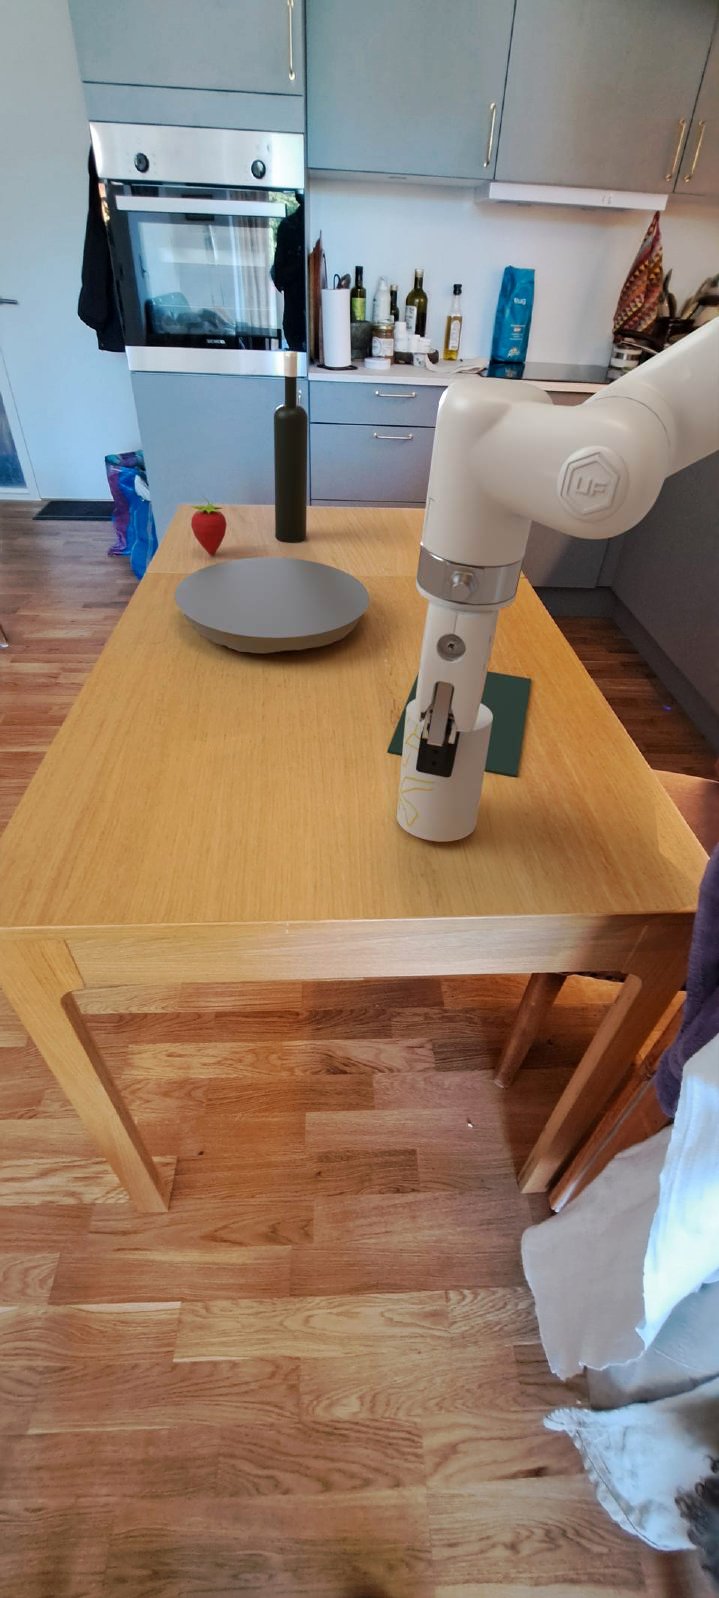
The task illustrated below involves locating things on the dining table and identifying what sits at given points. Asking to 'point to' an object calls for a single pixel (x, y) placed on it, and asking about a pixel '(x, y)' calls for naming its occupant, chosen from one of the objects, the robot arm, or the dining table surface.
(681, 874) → the dining table surface
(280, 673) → the dining table surface
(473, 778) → the cup
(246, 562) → the flat disc
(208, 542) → the strawberry
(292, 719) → the dining table surface
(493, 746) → the mat
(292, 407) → the wine bottle
